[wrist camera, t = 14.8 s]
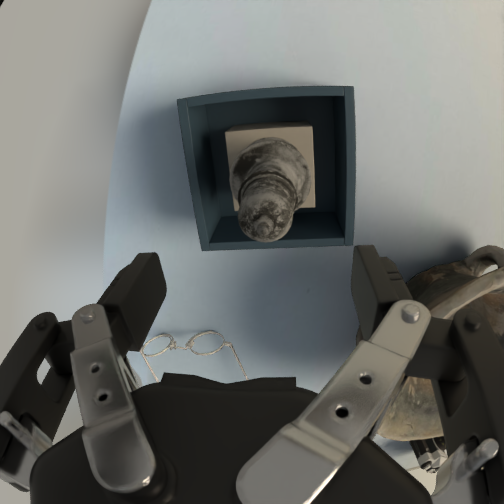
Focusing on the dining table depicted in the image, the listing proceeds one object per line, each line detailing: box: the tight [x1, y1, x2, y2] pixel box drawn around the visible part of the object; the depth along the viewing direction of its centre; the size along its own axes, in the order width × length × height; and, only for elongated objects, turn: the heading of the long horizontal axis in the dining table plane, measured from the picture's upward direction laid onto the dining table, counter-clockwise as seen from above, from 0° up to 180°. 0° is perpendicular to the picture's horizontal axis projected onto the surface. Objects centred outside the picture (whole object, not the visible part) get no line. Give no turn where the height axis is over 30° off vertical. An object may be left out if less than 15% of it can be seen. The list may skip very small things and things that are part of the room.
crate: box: [177, 86, 356, 251], centre depth 27 cm, size 14×14×7 cm
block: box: [225, 121, 315, 211], centre depth 27 cm, size 7×7×5 cm
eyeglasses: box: [140, 331, 248, 382], centre depth 45 cm, size 16×19×5 cm
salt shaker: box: [229, 137, 312, 242], centre depth 20 cm, size 6×6×12 cm
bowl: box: [356, 245, 504, 441], centre depth 30 cm, size 27×26×15 cm
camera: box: [409, 436, 447, 473], centre depth 53 cm, size 15×11×10 cm
